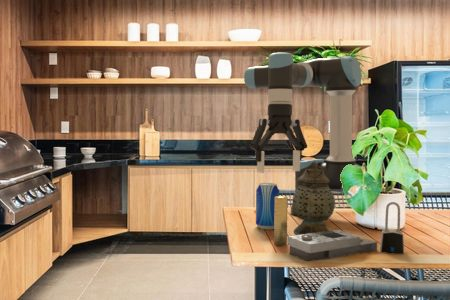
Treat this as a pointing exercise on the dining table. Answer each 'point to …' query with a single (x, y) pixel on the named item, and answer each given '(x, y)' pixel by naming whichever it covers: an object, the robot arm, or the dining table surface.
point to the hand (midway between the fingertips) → (278, 171)
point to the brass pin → (280, 221)
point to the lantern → (313, 201)
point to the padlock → (392, 236)
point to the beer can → (266, 205)
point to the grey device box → (328, 245)
